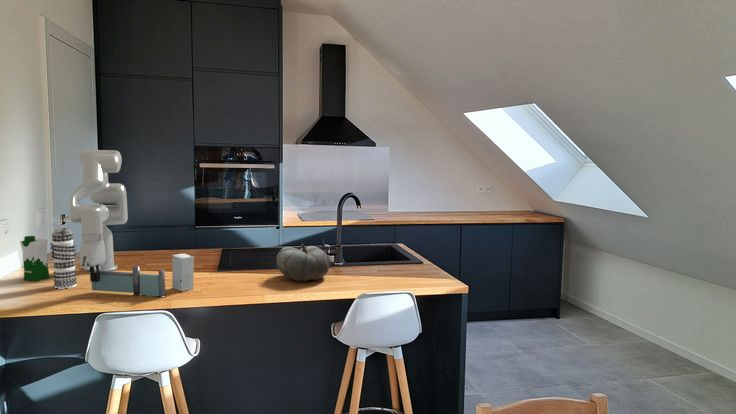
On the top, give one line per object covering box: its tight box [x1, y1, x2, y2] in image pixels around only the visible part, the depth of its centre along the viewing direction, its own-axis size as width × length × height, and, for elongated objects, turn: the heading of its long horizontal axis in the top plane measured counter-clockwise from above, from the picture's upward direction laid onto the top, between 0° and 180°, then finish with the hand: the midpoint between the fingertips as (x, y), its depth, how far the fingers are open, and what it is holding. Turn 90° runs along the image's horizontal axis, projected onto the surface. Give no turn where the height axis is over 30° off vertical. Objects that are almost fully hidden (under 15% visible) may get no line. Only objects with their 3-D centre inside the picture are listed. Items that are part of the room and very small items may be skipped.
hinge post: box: [131, 265, 141, 296], centre depth 210 cm, size 3×3×12 cm
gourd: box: [276, 243, 331, 282], centre depth 240 cm, size 25×25×17 cm
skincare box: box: [171, 252, 195, 292], centre depth 220 cm, size 8×6×15 cm
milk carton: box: [19, 235, 51, 282], centre depth 231 cm, size 9×9×20 cm
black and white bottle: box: [49, 228, 78, 290], centre depth 220 cm, size 9×9×25 cm
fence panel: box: [140, 269, 166, 298], centre depth 209 cm, size 11×2×11 cm, turn 81°
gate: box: [90, 270, 133, 294], centre depth 212 cm, size 18×2×8 cm, turn 81°
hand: (95, 281), depth 209 cm, fingers closed
